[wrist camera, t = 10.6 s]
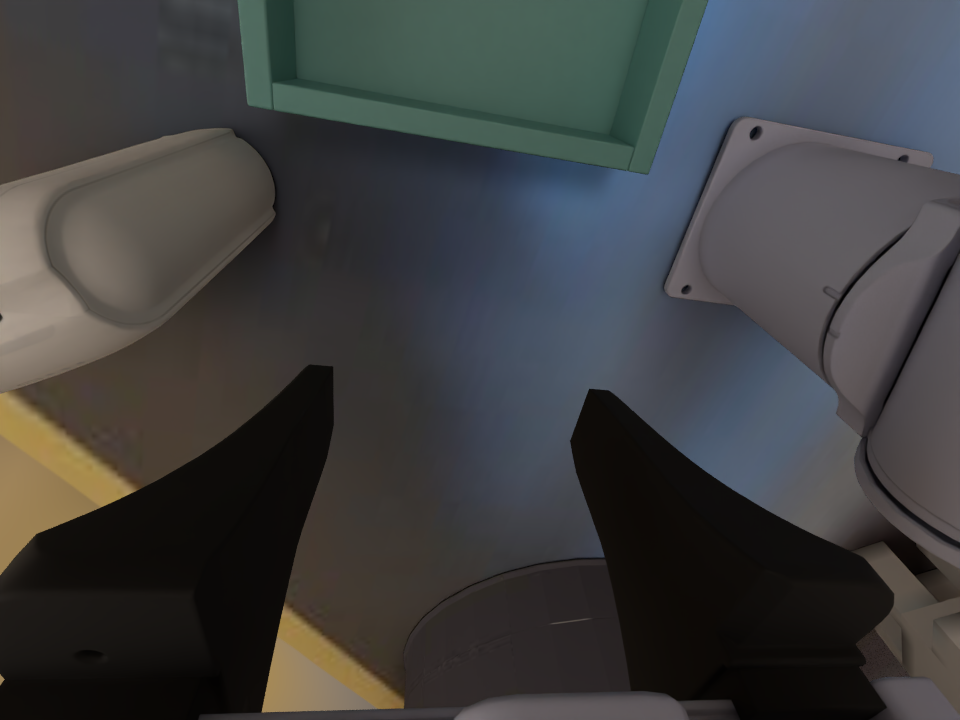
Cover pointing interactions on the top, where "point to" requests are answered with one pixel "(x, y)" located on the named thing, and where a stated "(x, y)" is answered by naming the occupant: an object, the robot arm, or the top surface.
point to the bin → (479, 70)
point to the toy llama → (922, 618)
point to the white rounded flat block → (120, 246)
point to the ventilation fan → (519, 638)
